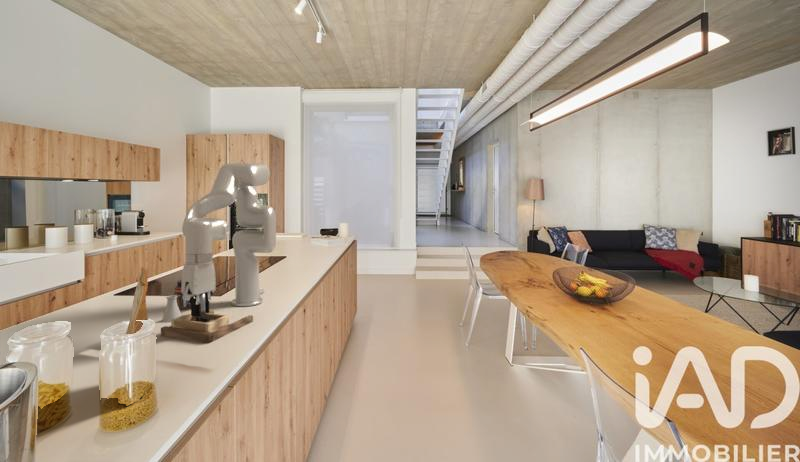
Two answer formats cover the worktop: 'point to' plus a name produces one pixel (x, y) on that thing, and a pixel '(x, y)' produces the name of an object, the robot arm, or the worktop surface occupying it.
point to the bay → (202, 335)
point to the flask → (171, 309)
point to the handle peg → (202, 308)
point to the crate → (210, 325)
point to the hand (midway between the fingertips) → (200, 313)
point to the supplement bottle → (181, 302)
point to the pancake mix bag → (139, 304)
